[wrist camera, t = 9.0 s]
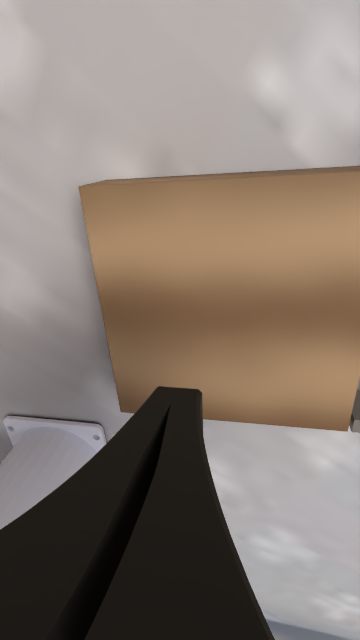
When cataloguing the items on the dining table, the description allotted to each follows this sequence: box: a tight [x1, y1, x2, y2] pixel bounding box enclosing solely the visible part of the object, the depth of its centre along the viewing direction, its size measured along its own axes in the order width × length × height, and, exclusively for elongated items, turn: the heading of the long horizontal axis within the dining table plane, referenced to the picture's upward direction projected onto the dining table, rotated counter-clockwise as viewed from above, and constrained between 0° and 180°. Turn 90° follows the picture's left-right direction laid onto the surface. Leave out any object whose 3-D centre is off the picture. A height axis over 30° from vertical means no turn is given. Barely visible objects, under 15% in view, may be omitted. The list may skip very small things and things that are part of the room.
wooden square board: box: [79, 166, 360, 431], centre depth 16 cm, size 12×12×3 cm
